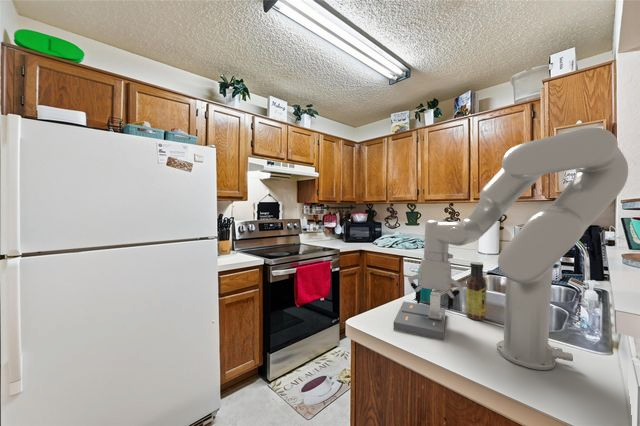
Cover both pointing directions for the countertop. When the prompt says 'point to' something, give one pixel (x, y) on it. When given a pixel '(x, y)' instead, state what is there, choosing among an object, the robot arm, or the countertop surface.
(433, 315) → the slide lever
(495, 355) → the countertop surface
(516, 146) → the robot arm
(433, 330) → the panel
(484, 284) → the sauce bottle
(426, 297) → the beverage can
